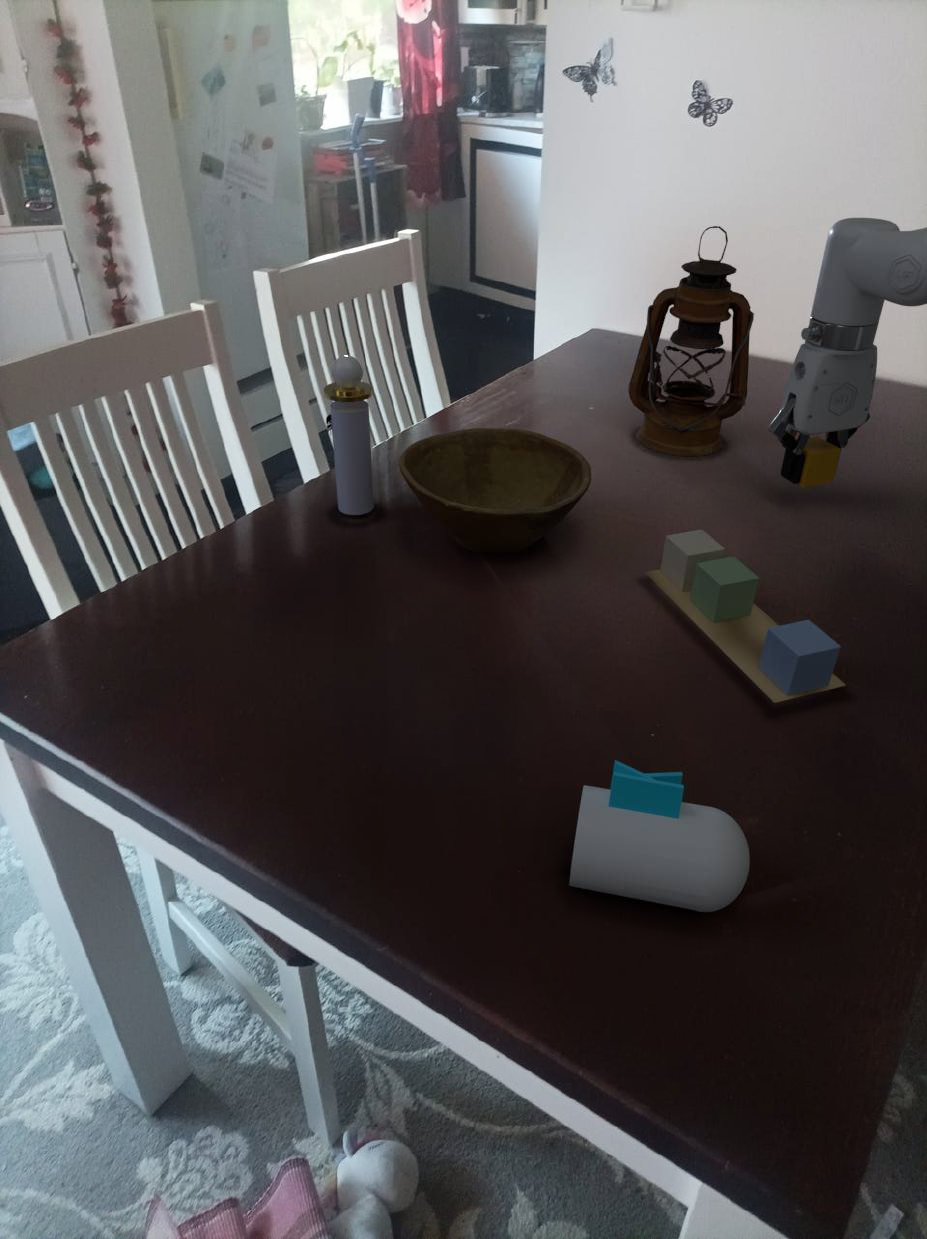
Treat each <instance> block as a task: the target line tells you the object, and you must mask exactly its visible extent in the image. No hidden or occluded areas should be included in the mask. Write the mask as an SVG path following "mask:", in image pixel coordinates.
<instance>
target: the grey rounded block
mask: <svg viewBox="0 0 927 1239" xmlns="http://www.w3.org/2000/svg"><path fill="white" fill-rule="evenodd" d="M612 770H613V771H612V778H611V783H610V789H609V788H603V787H598V786H591V785H585V784H583V786H582V787H583V788H582V793H581V798H580V804H579V810H578V817H577V823H576V830H575V836H574V842H573V843H574V844H573V851H572V858H571V864H570V875H569V882H568V886H569V887H574V888H579V889H584V890H588V891H594V892H599V893H605V894H609V895H614V896H620V897H624V898H631V899H635V900H640V901H646V902H650V903H654V904H655V903H656V904H660V905H665V906H671V907H675V908H681V909H687V910H692V911H696V912H698V913H699V912H701V913H712V912H713V913H714V912H717V911H719V910H723V909H724V908H725V907H728V906H729V905H731V904H732V903H733V902H735V900H736V899H737V897H738V896H739V895H740V894H741V893H742V891H743V889H744V888H745V885H746V882H747V879H748V876H749V872H750V865H751V862H750V861H751V860H750V858H751V857H750V849H749V844H748V841H747V839H746V836H745V834H744V833H745V832H744V831H743V830H742V828H741V827H740V825H739V824H738V823H737V821H736V820H735V819H734V818H733V817H732V816H730V815H729V814H728V813H727V812H725V811H723V810H721V809H719V808H716V807H713V806H708V805H701V804H695V803H689V802H684V801H683V795H684V791H685V787H684V784H682V781H683V772H682V771H675V772H673V771H672V772H651V773H648V772H647V773H644V772H642V771H641V770H640V771H639V770H638V769H635V768H633V767H631V766H629V765H626V764H625V763H623V762H620V761H618V760H616V759H615V760H614V764H613V769H612Z"/></svg>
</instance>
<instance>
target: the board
mask: <svg viewBox="0 0 927 1239" xmlns="http://www.w3.org/2000/svg"><path fill="white" fill-rule="evenodd" d="M660 569H661V568H660ZM660 569H654V570H649V571H645V572H644V573H645V575H647V576H648V577H649V578H650V579H651V581H652V582H654V583H655V584H656V586H658V588H659V589H661V590H662V591H663V593H665V595H666V596H667V597H669V598H670V600H671V601H672V602H674V604H676V605H677V607H678V608H679V609H681V610H682V612H683V613H684V614H685V615H686V616H687V617H688V618H689V619H690V620H691V621H692V622H693V623H694V624H696V626H697V627H698V628H699V629H700V630H701V631H702V632H703V633H704V634H705V635H706V636H707V637H709V639H710V640H711V641H712V642H713V643H714V644H715V645H716V646H717V647H718V648H719V649H720V650H721V651H722V652H723V653H724V654H725V656H727V657H728V658H729V659H730V660H731V661H732V662H733V663H734V664H735V665H736V666H737V667H738V668H739V669H740V670H741V671H742V672H743V674H745V675H746V676H747V677H748V678H749V679H750V680H751V681H752V682H753V683H754V684H755V686H757V687H758V688H759V689H760V690H761V691H762V692H763V693H764V695H766V696H767V697H768V698H769V699H770V700H771V701H772V703H774V704H776V703H780V702H784V701H785V702H786V701H788V700H793V699H797V698H801V697H804V696H809V695H813V694H818V693H821V692H822V693H823V692H825V691H830V690H833V689H834V690H835V689H837V688H842V687H846V685H847V684H846V683H844V681H843V680H841V679H840V678H839V677H838V676H836V674H835V673H834V672H833V673H832V676H831V679H830V682H829V685H828V686H826V687H822V688H818V689H813V690H809V691H805V692H801V693H797V694H793V695H789V696H787V695H786V694H785V693H784V692H783V691H782V690H781V689H780V688H779V687H778V686H777V685H776V684H775V683H774V682H773V681H772V680H771V679H770V678H769V677H768V676H767V675H766V674H765V673H764V672H763V671H762V670H761V669H760V668H759V667H758V666H759V662H760V658H761V654H762V650H763V646H764V643H765V639H766V635H767V631H768V628H772V627H777V626H780V625H779V624H778V623H777V622H776V621H774V620H773V619H772V618H771V617H770V616H769V614H767V613H766V612H764V610H762V609H761V608H760V607H759V606H758V605H757V604H756V603H755V602H754V603H753V607H752V611H751V615H748V616H743V617H738V618H734V619H729V620H724V621H719V622H714V623H713V622H712V621H711V620H710V619H709V618H708V617H707V616H706V615H704V614H703V613H702V612H701V611H700V610H699V609H698V608H697V607H696V606H695V605H694V604H693V603H692V602H691V601H690V594H691V590H688V591H683V592H681V591H680V590H679V589H678V588H677V587H676V586H675V585H674V584H673V583H672V582H671V581H670V580H669V579H668V578H667V577H666V576H665V575H664V574H663V573H662V572H661V571H660Z"/></svg>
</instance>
